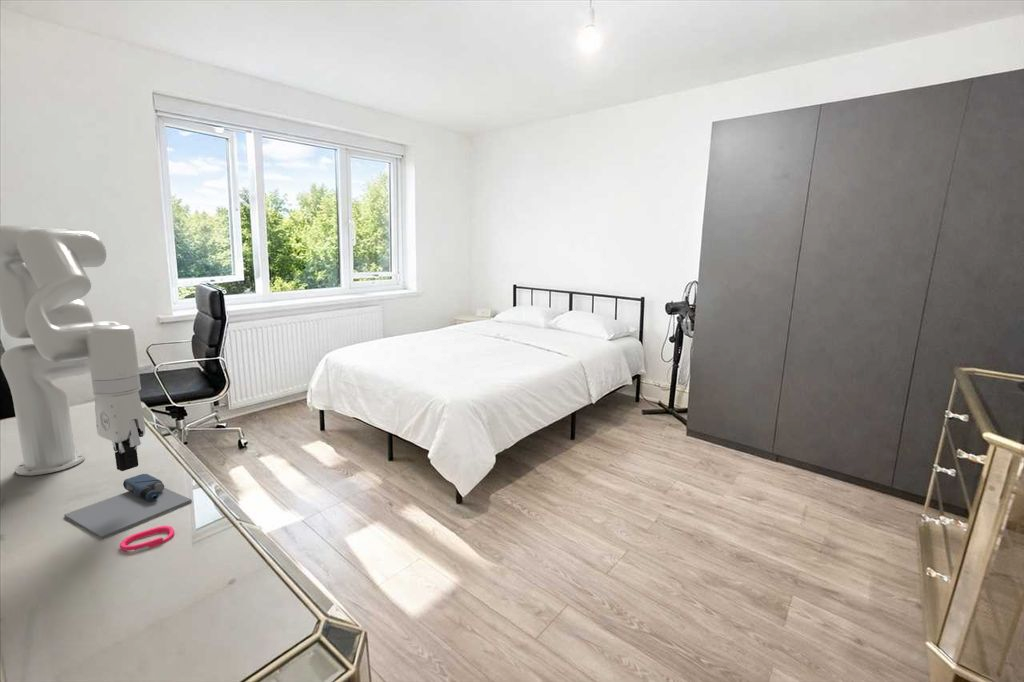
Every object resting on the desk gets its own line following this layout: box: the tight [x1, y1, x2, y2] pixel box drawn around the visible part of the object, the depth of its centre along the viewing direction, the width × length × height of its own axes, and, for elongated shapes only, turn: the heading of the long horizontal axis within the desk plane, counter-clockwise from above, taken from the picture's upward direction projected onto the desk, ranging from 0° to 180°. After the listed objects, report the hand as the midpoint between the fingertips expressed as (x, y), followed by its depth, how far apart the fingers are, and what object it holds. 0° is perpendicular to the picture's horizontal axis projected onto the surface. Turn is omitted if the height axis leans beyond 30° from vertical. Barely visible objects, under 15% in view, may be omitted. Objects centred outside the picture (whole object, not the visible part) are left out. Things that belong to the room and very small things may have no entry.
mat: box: [63, 487, 193, 540], centre depth 98 cm, size 16×16×1 cm
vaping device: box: [122, 473, 165, 502], centre depth 104 cm, size 3×5×12 cm
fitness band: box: [119, 525, 175, 553], centre depth 88 cm, size 8×6×2 cm
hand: (127, 467), depth 98 cm, fingers closed
